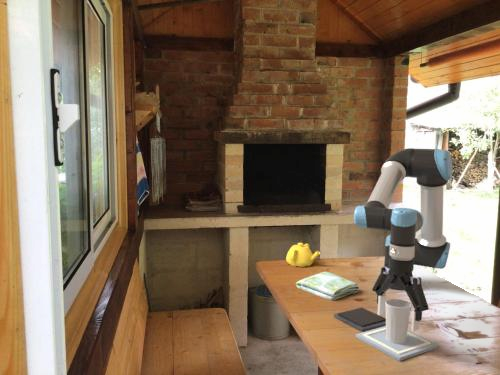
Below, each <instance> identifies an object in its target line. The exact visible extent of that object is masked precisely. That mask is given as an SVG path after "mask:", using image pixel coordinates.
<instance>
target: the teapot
mask: <svg viewBox="0 0 500 375" xmlns="http://www.w3.org/2000/svg"><path fill="white" fill-rule="evenodd" d="M320 255H321V251H319V250H316V251H315V252H314V253H313V252H312V250H311V249H310V244H309V243H303V242H297V244H293V245H292V246H291V247H290V248H289V250H288V251H287V254H286V257H285V260H286V262H287V264H290V266H292V267H296V266H298V268H306V266H308V267H311V266H312V264H313V263H314V261H315V260H316V259H317V258H318V257H319V256H320Z"/></svg>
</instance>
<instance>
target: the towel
mask: <svg viewBox="0 0 500 375" xmlns="http://www.w3.org/2000/svg"><path fill="white" fill-rule="evenodd" d="M295 286H296V287H297V289H300V290H303V291H305V292H307V293H309V294H312V295H315V296H318V297H320V298H323V299H326V300H328V301H337V300H338V299H340V298H344V297H347V296H348V295H351V294H356V293H357V292H358V291H359V289H360V286H358V283H357V282H355V281H351V280H349V279H346V278H344V277H342V276H340V275H337V274H335V273H332V272H329V271H322V272H321V271H320V272H318V273H316V274H314V275H313V274H312V275H310V276H308V277H304V278H303V279H300V280H298V281H296V283H295Z"/></svg>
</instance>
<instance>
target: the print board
mask: <svg viewBox="0 0 500 375" xmlns="http://www.w3.org/2000/svg"><path fill="white" fill-rule="evenodd" d="M354 336H355V338H356V339H358V340H359V341H362V342H363V343H366V344H367V345H369V346H371V347H372V348H374V349H377V350H378V351H380V352H381V353H384V354H385V355H387V356H389V357H391V358H393V359H394V360H397V361H398V362H401V361H403V360H407V359H409V358H412V357H416V356H418V355H421V354H423V353H424V354H425V353H427V352H429V351H433V350H436V349H438V348H439V344H438V343H436V342H433V341H431V340H430V339H428V338H425V337H423V336H421V335H418V334H416V333H415V332H413V331H410V330H408V331H407V341H406V343H403V344H396V343H392V342H389V341H388V340H387V339H386V325H385V326H381V327H377V328H374V329H370V330H367V331H363V332H359V333H355V335H354Z"/></svg>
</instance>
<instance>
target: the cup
mask: <svg viewBox="0 0 500 375" xmlns="http://www.w3.org/2000/svg"><path fill="white" fill-rule="evenodd" d="M411 310H412V303H411V302H409V301H406V300H404V299H398V298H389V299H387V300H386V301H385V318H386V325H385V326H386V339H387V340H388V341H389V342H392V343H396V344H403V343H406V341H407V331H409V322H410V316H411V313H412V312H411Z"/></svg>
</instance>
